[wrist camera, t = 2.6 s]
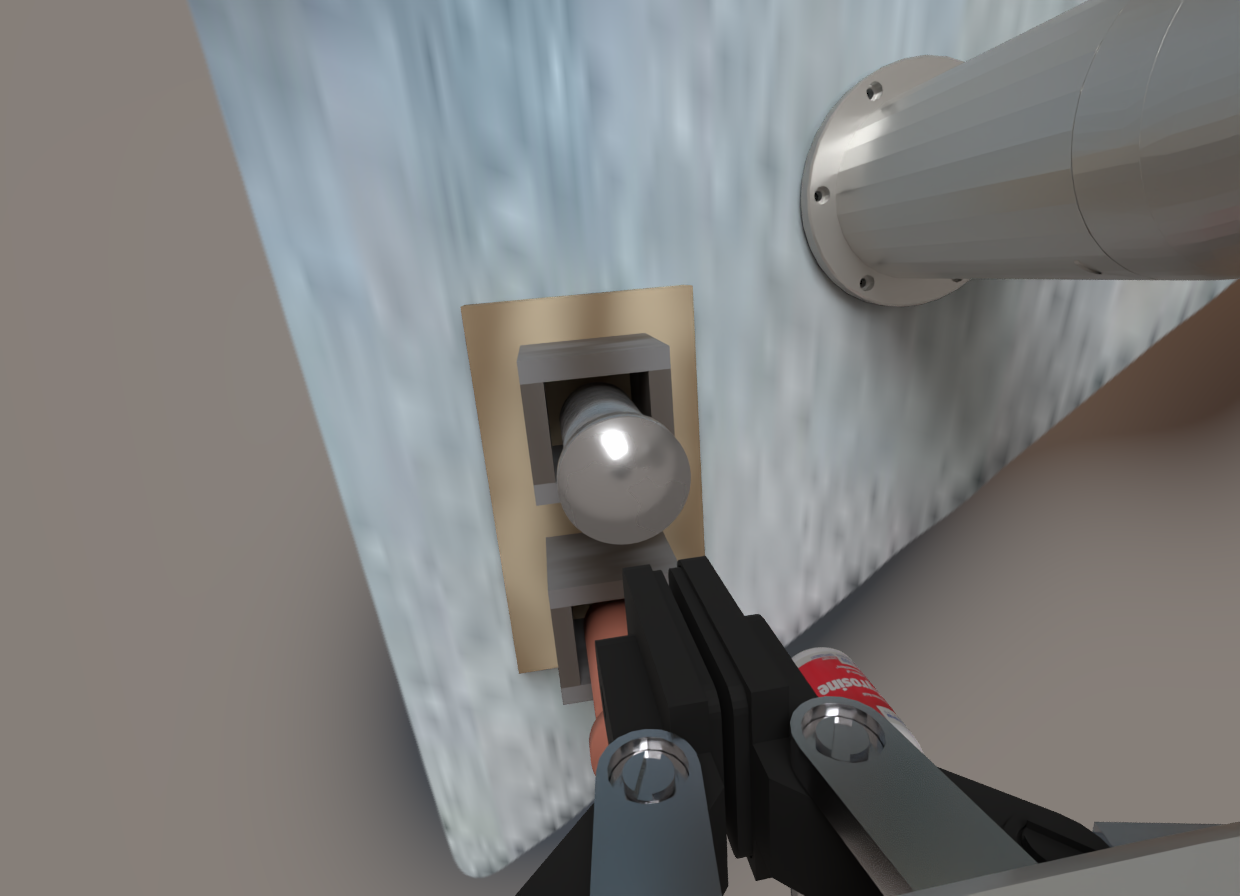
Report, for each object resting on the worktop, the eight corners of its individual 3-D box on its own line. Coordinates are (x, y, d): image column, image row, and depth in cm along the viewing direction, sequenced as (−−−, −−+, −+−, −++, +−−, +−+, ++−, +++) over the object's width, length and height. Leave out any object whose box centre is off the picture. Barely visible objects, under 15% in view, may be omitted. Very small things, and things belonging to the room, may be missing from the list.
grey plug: (640, 368, 27) (687, 409, 19) (647, 458, 28) (693, 535, 20) (545, 378, 27) (549, 425, 18) (556, 469, 28) (565, 552, 19)
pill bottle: (866, 651, 42) (978, 778, 31) (834, 721, 43) (931, 866, 33) (789, 636, 40) (878, 763, 30) (759, 709, 42) (834, 855, 31)
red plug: (656, 579, 30) (702, 695, 22) (661, 651, 32) (707, 787, 23) (571, 591, 30) (585, 715, 21) (580, 664, 31) (596, 808, 23)
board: (683, 284, 33) (728, 287, 25) (700, 625, 39) (739, 709, 31) (465, 305, 31) (442, 314, 24) (519, 653, 38) (516, 748, 30)
